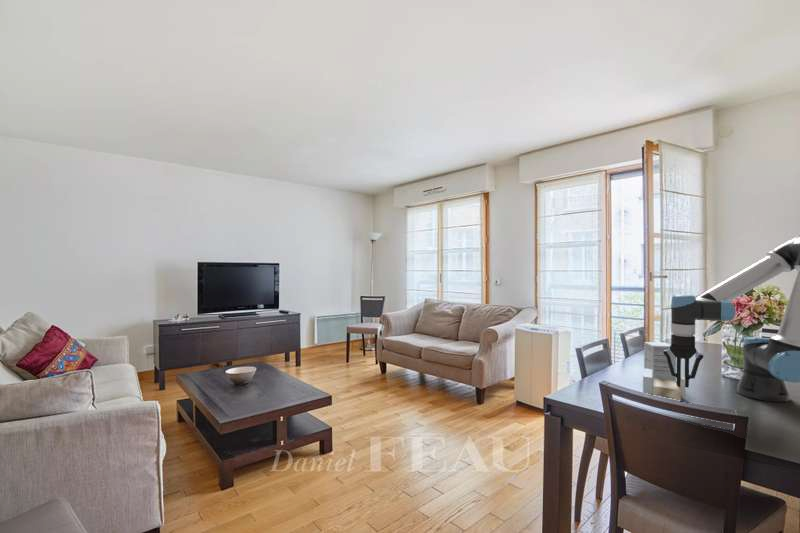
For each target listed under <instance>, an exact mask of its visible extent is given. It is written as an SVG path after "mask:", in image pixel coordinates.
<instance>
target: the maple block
mask: <svg viewBox="0 0 800 533" xmlns="http://www.w3.org/2000/svg"><path fill="white" fill-rule="evenodd" d="M652 395H656V396H661V397H666V398H672V399H676V400H680V401H681V400H682V399H681V397H682V396H681V389H680V386H677V380H676V381H670V380H663V379H656V378H653V382H652Z"/></svg>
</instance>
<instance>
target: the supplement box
mask: <svg viewBox="0 0 800 533" xmlns="http://www.w3.org/2000/svg"><path fill="white" fill-rule="evenodd" d="M670 346H671V343H668V342H662V341H661V342H660V341H659V342H658V341H657V342H656V341H654V342H653V341H644V343H643V347H644V348H643V351H644V352H643V354H644V355H643V356H644V357H643V358H644V361H643V369H644V368H646V369H653V378H656V379H663V380H670V381H677V378H676V377H675V376H672V375H671V372H670V368H669V365H668V361H667V357H666V356H665V355H664V353H663V351H664V350H667V349H670ZM670 353H671V355H670V358H671V361H672V365H673V369H674V372H675V373H677V357H675V355H674V354H673V353H672V352H670ZM652 382H653V379H652Z"/></svg>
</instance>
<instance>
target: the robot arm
mask: <svg viewBox="0 0 800 533" xmlns="http://www.w3.org/2000/svg"><path fill="white" fill-rule="evenodd" d="M793 270H796V271H797V274H796V278H795V281H794V283H793V286H792V289H791V292H790V295H789V299H788V302H787V304H786V308H785V310H784V312H783V313H784V314H783V316H782V319H781V322H780V325H779V327H778V331H777V333H776V334H775V335H773V336H771V337H755V336H753V337H750V336H748V337H745V338H744V339H743V344H742V347H743V348H742V352H743V354H742V356H743V357H742V365H743V366H742V367H743V369H742V375H741V378H740V379H739V382H738V384H737V386H736V389H737V390H736V391H737V393H738V394H739V395H742V396H745V397H747V398H750V399H754V400H758V401H759V400H760V401H765V402H773V403H786V402H789V401H790V393H789V390H788V387H787V385H786V383H787V382H788V383H794V384H795V383H800V235H797V236H795V237H793V238H791V239H789V240H787V241H785V242H784V243H782V244H780V245H778V246H777V247H775V248H773V249H772V250H770V251H768V252H767V253H766V256H765V257H764V258H762V259H759V260H758V261H757V262H756V263H753V264H752V265H750V266H748V267H746V268H745V269H743V270H741V271H740V272H737V273H736V274H734V275H732V276H731V277H729V278H727V279H726V280H724V281H722V282H720V283H719V284H717V285H716V286H714V287H712V288H711V289H709V290H707V291H705V292H703V293H702V294H700V295H698V296H695V295H691V294H674V295H672V296H671V305H670V307H671V308H670V309H671V310H670V311H671V322H670V323H671V324H670V332H671V336H670V337H671V338H670V345H671V346H670V349H667V350H664V351H663V353H664V355H665V356H666V357H667V361H668V365H669V368H670V372H671V375H672V376H675V377H676V381H677V386H680V389H681V397H686V389H687V388H689V386H690V380H691V379H695V378H696V375H697V372H698V369H699V366H700V364H701V361H702V360H703V359H704V358H705V357H704V354H703V353H700V352H698V351H697V348H696V337H695V335H696V321H715V322H717V321H719V322H730V321H733V320H734V318H735V317H736V307H735V305H734V303H733V302H732V301H733V300H735V299H737V298H739V297H741V296H742V295H744V294H747V293H748V292H750V291H752V290H753V289H755V288H757V287H759V286H761V285H763V284H764V283H766V282H768V281H769V280H771V279H774V278H775V277H776V276H779V275H780V274H781V273H782V274H783V273H789V272H792V271H793ZM670 352H672V353H673V354H674V355H675V357H676V373H675V372H674V369H673V365H672V361H671V358H670V355H671V353H670ZM694 355H695V359H694V363H693V365H692V369H691V372H690V359H691V358H692V357H694ZM682 359H684V377H682V376H681V372H682V368H681V367H682ZM785 382H786V383H785Z"/></svg>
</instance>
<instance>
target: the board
mask: <svg viewBox="0 0 800 533" xmlns="http://www.w3.org/2000/svg"><path fill="white" fill-rule="evenodd" d="M642 376H643V377H642V393H643V392H644V393H648V394H652V379H653V369H646V368H644V367H643V374H642Z"/></svg>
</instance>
